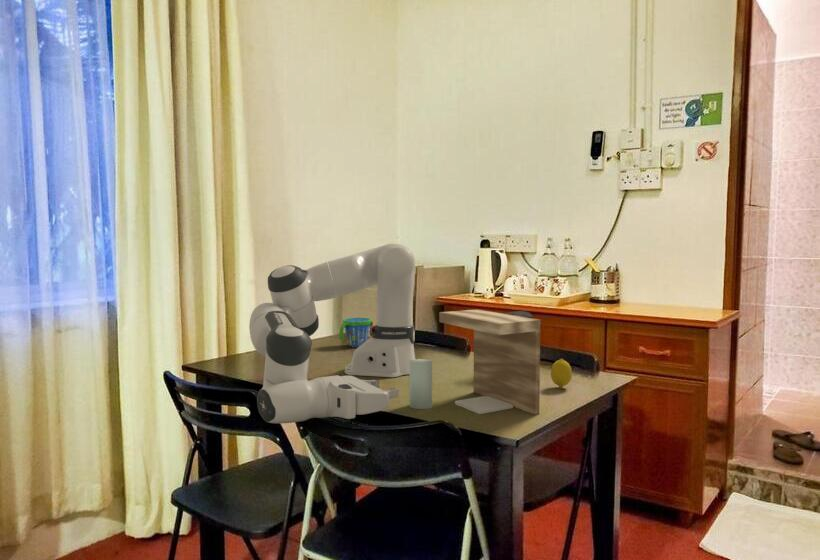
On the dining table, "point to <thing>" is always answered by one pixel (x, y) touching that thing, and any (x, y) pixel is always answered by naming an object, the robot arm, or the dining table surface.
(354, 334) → the snack cup
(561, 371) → the lemon
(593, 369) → the dining table surface
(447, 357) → the dining table surface
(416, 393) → the pale green cylinder
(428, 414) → the dining table surface
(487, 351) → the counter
